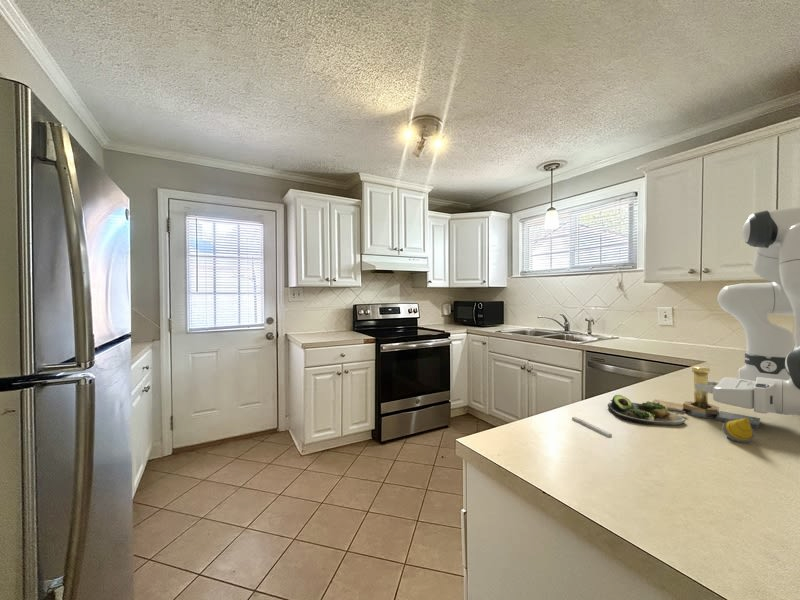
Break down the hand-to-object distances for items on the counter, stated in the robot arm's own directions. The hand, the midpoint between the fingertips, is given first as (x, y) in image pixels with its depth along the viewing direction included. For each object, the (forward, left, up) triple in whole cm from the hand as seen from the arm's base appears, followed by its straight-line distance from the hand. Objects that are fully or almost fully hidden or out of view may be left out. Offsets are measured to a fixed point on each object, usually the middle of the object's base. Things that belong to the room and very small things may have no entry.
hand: (696, 384), depth 99 cm
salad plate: (+14, -10, -9) cm, 19 cm away
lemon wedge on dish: (+18, +11, -9) cm, 23 cm away
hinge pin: (0, +1, -7) cm, 7 cm away
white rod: (+35, -16, -9) cm, 40 cm away
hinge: (0, +1, -8) cm, 8 cm away
